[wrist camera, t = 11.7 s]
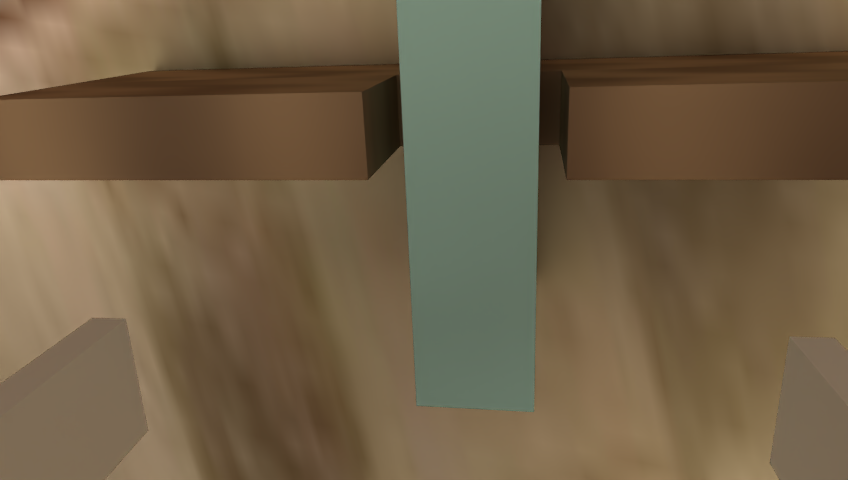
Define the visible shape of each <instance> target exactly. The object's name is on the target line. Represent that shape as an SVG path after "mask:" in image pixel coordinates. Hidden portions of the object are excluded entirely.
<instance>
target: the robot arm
mask: <svg viewBox="0 0 848 480" xmlns="http://www.w3.org/2000/svg"><path fill="white" fill-rule="evenodd" d="M147 431H148V427H147V422H146V417H145V412H144V407H143V402H142V397H141V392H140V387H139V382H138V377H137V372H136V367H135V362H134V357H133V352H132V347H131V342H130V338H129V333H128V328H127V323H126V319H114V318H92V319H90V320H89V321H87V322H86V323H85V324H83V325H82V326H80V327H79V328H78V329H76V330H75V331H73V332H72V333H71V334H69V335H68V336H66V337H65V338H64V339H62V340H61V341H59V342H58V343H57V344H55V345H54V346H52V347H51V348H50V349H48V350H47V351H46V352H44V353H43V354H41V355H40V356H39V357H37V358H36V359H34V360H33V361H32V362H30V363H29V364H27V365H26V366H25V367H23V368H22V369H20V370H19V371H18V372H16V373H15V374H13V375H12V376H11V377H9V378H8V379H6V380H5V381H4V382H2V383H1V384H0V480H105V478H106V477H107V476H108V475H109V474H110V473H111V472H112V471H113V469H114V468H115V467H116V466H117V465H118V464H119V463H120V462H121V460H122V459H123V458H124V457H125V456H126V455H127V454H128V453H129V451H130V450H131V449H132V448H133V447H134V446H135V445H136V443H137V442H138V441H139V440H140V439H141V438H142V437H143V436H144V434H145V433H146V432H147ZM770 464H771V466H772V467H773V469H774V471H775V473H776V475H777V476H778V478H779V480H848V351H847V350H846V349H845V348H844V347H843V346H842V345H841V344H840V343H839V342H838V341H837V340H836V339H835V338H823V337H789V343H788V350H787V356H786V362H785V369H784V375H783V381H782V388H781V394H780V401H779V407H778V413H777V420H776V426H775V433H774V439H773V445H772V452H771V458H770Z"/></svg>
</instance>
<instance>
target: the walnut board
mask: <svg viewBox="0 0 848 480" xmlns="http://www.w3.org/2000/svg"><path fill="white" fill-rule="evenodd" d="M539 145H560V150H561V155H562V159H563V164H564V169H565V174H566V179H567V180H848V51H842V52H807V53H772V54H737V55H702V56H667V57H631V58H596V59H561V60H540V102H539ZM400 146H404V144H403V124H402V104H401V84H400V64H385V65H350V66H315V67H280V68H244V69H209V70H174V71H148V72H142V73H136V74H130V75H124V76H118V77H112V78H106V79H100V80H94V81H87V82H81V83H75V84H69V85H63V86H57V87H51V88H45V89H39V90H33V91H27V92H21V93H15V94H9V95H3V96H0V180H368V179H369V178H370V177H371V176H372V175H373V174H374V173H375V172H376V171H377V170H378V169H379V168H380V167H381V166H382V164H383V163H384V162H385V161H386V160H387V159H388V158H389V157H390V156H391V155H392V154H393V153H394V152H395V151H396V150H397V149H398V148H399V147H400Z"/></svg>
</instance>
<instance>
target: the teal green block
mask: <svg viewBox="0 0 848 480" xmlns="http://www.w3.org/2000/svg"><path fill="white" fill-rule="evenodd" d="M396 3H397V23H398V44H399V64H400V84H401V104H402V124H403V144H404V164H405V184H406V204H407V224H408V244H409V264H410V284H411V304H412V324H413V344H414V364H415V384H416V405H417V406H430V407H449V408H468V409H487V410H506V411H524V412H534V386H535V329H536V272H537V215H538V158H539V102H540V45H541V0H396Z"/></svg>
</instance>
